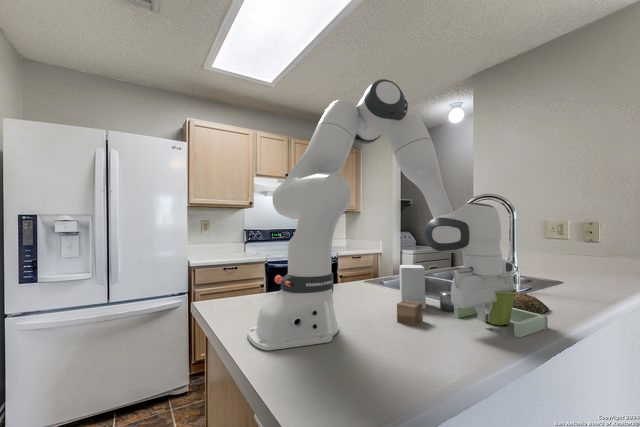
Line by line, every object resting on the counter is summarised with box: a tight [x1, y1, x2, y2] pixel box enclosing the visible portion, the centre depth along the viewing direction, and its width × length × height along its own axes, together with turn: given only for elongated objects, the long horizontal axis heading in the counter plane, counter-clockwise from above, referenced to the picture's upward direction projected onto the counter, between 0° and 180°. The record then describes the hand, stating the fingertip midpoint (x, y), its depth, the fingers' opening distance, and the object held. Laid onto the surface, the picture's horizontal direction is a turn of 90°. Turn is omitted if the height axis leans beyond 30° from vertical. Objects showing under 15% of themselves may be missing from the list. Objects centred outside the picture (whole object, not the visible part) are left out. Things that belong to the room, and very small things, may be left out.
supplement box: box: [399, 264, 427, 310], centre depth 95 cm, size 7×7×13 cm
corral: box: [453, 306, 549, 338], centre depth 78 cm, size 12×17×3 cm
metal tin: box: [439, 290, 454, 313], centre depth 90 cm, size 5×5×5 cm
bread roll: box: [512, 292, 550, 315], centre depth 91 cm, size 13×12×5 cm
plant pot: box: [487, 289, 518, 326], centre depth 78 cm, size 9×9×9 cm
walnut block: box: [396, 300, 424, 327], centre depth 80 cm, size 5×5×5 cm
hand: (483, 320), depth 75 cm, fingers closed
